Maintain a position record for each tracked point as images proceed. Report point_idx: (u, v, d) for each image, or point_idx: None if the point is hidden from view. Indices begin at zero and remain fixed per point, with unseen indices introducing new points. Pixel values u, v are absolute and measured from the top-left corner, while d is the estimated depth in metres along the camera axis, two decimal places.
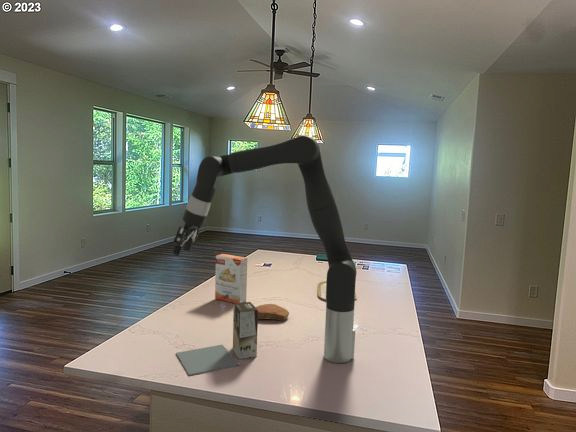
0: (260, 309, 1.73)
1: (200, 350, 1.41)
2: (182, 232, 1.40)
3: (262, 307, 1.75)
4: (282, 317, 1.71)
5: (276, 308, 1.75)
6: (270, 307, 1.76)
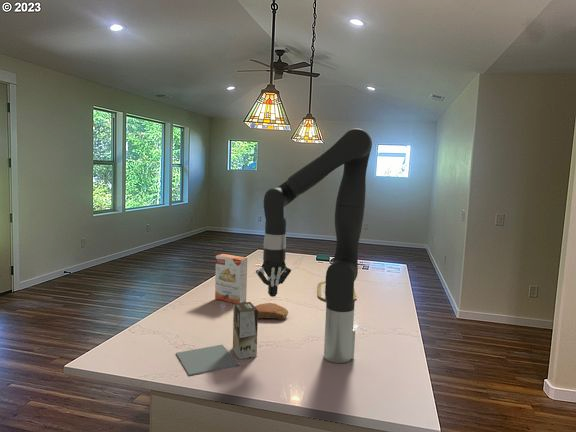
0: (259, 308, 1.74)
1: (200, 350, 1.41)
2: (259, 275, 1.41)
3: (261, 306, 1.76)
4: (281, 316, 1.72)
5: (275, 307, 1.76)
6: (269, 306, 1.77)
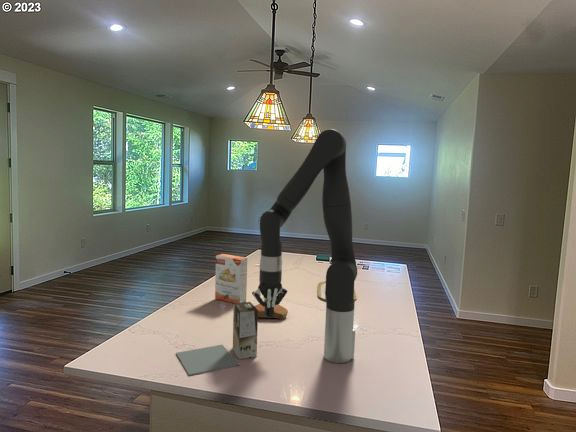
0: (259, 308, 1.75)
1: (200, 350, 1.41)
2: (255, 297, 1.41)
3: (261, 306, 1.77)
4: (281, 315, 1.73)
5: (275, 307, 1.77)
6: None
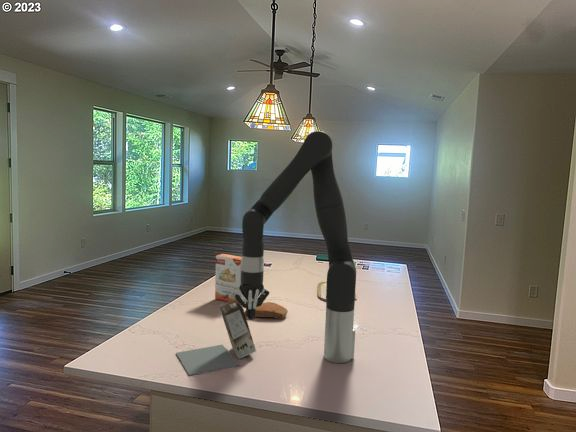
0: (259, 307, 1.75)
1: (200, 350, 1.41)
2: (236, 298, 1.38)
3: (261, 305, 1.77)
4: (281, 315, 1.73)
5: (275, 306, 1.77)
6: (269, 305, 1.78)
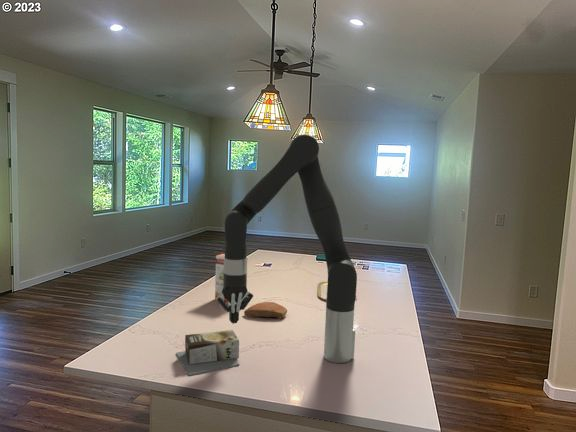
0: (259, 307, 1.76)
1: None
2: None
3: (261, 305, 1.78)
4: (280, 314, 1.74)
5: (274, 306, 1.78)
6: (268, 305, 1.78)
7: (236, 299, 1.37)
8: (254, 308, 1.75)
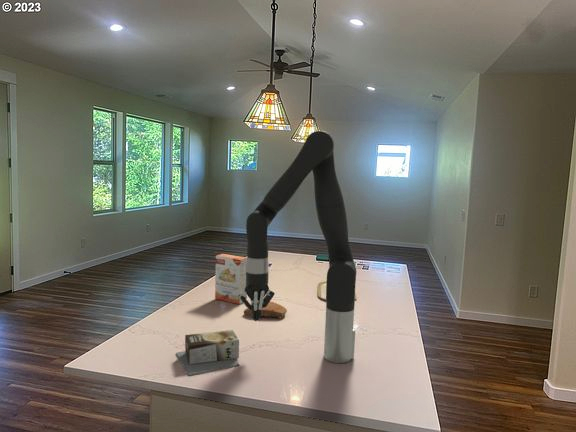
0: None
1: None
2: (241, 300, 1.38)
3: None
4: (280, 314, 1.74)
5: (274, 305, 1.78)
6: (268, 304, 1.79)
7: (258, 297, 1.41)
8: None
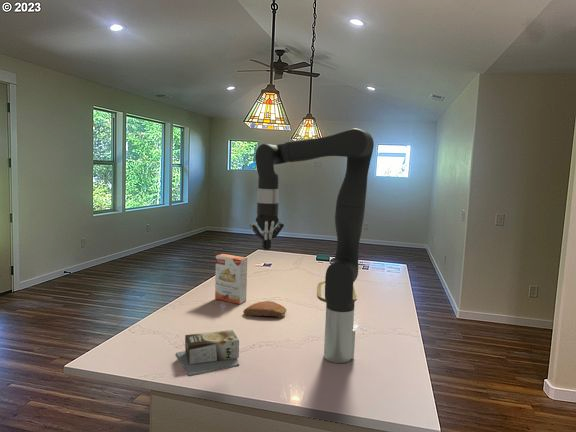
0: (258, 306, 1.77)
1: None
2: (253, 229, 1.46)
3: (260, 304, 1.79)
4: (279, 314, 1.75)
5: (274, 305, 1.79)
6: (268, 304, 1.79)
7: (269, 227, 1.48)
8: (253, 307, 1.76)
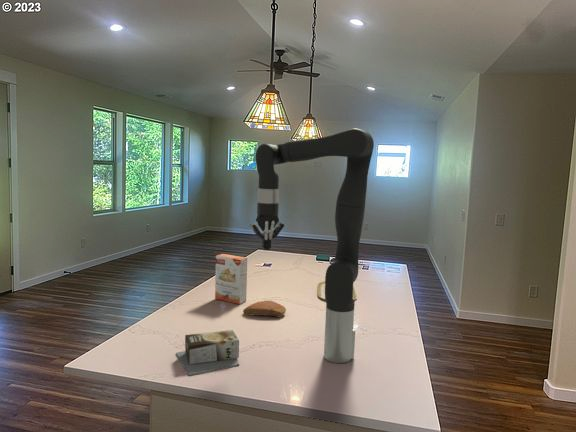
0: (258, 305, 1.77)
1: None
2: (253, 228, 1.46)
3: (260, 304, 1.79)
4: (279, 313, 1.75)
5: (273, 305, 1.79)
6: (267, 304, 1.80)
7: (269, 227, 1.49)
8: (253, 307, 1.77)
